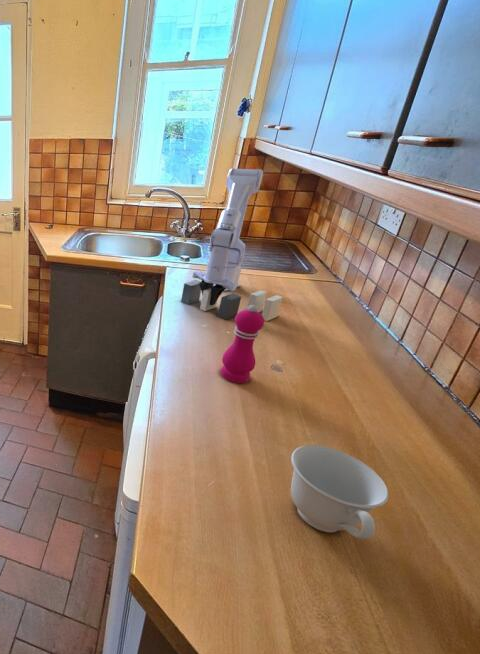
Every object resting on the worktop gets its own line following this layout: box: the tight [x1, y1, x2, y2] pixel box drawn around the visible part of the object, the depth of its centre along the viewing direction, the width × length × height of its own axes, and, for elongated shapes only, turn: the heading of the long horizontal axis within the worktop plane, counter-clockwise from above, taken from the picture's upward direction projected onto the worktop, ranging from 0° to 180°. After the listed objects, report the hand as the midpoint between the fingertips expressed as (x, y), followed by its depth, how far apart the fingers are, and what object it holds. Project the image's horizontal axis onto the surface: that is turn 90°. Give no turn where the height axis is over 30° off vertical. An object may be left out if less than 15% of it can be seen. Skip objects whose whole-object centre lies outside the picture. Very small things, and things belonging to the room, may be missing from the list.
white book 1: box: [246, 289, 268, 313], centre depth 134 cm, size 6×2×7 cm, turn 120°
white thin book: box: [199, 288, 219, 312], centre depth 138 cm, size 6×2×7 cm, turn 120°
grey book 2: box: [216, 292, 242, 320], centre depth 132 cm, size 6×3×7 cm, turn 120°
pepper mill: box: [220, 305, 265, 384], centre depth 99 cm, size 7×7×20 cm
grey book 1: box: [180, 279, 202, 305], centre depth 143 cm, size 6×3×7 cm, turn 120°
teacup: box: [290, 444, 390, 540], centre depth 64 cm, size 12×15×10 cm
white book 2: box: [261, 294, 284, 322], centre depth 130 cm, size 6×2×7 cm, turn 120°
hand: (208, 303), depth 138 cm, fingers closed on white thin book, 2 cm apart
